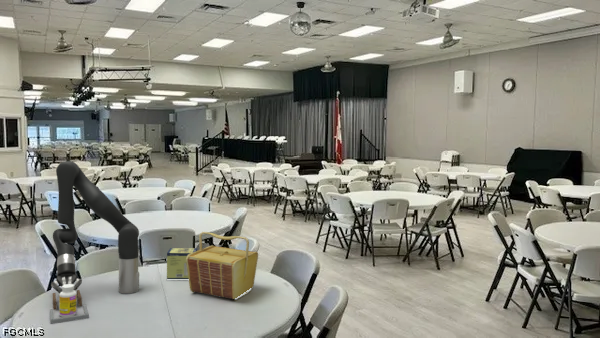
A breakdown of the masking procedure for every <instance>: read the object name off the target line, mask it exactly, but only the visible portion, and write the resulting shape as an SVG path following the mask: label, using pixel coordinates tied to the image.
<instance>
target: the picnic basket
mask: <svg viewBox="0 0 600 338" xmlns="http://www.w3.org/2000/svg"><path fill="white" fill-rule="evenodd" d="M203 235H211V237H213V238H216V239H218V240H219V239H220V240H225V241H226V240H227V241H230V240H235V239H242V240H245V242H246V245H245V246H246V247H245V250H244V249H235V248H229V247H222V246H215V245H209V246H206V247H204V248H203V241H202V237H203ZM198 242H199V249H197V251H196V252H193V253H190V254H189V255H188V256H187V257H186V265H187V272H188V279H189V281H188V285H189V290H190V292H191V293H194V292H195V293H198V294H199V293H200V294H203V293H204V295H208V296H214V295H215V297H219V296H220V297H221V298H224V297H225V299H230V298H231V300H233V299H235V298H237V297H238V296H240V295H241V294H243V293H244V292H246V291H247V290H249V289H250V288H252V287H253V288H254V286H255V285H254V284H255V279H256V273H257V265H258V261H259V260H258V259H259V253H258V252H257V251H250V250H249V248H250V241H249V239H248V238H247V237H245V236H238V235H235V236H234V235H233V236H223V235H220V234H217V233H214V232H213V233H212V232H209V231H202V232H200V233H199V235H198ZM253 288H252V289H253Z"/></svg>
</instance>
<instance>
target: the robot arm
mask: <svg viewBox="0 0 600 338" xmlns="http://www.w3.org/2000/svg"><path fill="white" fill-rule="evenodd" d="M55 172H56V179H57V180H56V181H57V186H58V187H57V188H58V189H57V190H58V205H57V223H58V224H61V225H64V226H65V225H66V226H68V227H69V228H57V229H54V231H53V232H52V240H53V242H54V245H55V247H56V248H55V249H56V251H57V258H56V259H57V260H56V271H57V274H56V278H55V280H54V281H51V283H50V284H51V285H50V286H51V288H53V290H55V291H56V292H57V293H58V294H59V295H60V293H61V292H62V291H63V290H62V286H63V285H66V284H73V285H74V290H75V291H76V292H77V290H78V288H79V287H80V286H81V284H82V283H83V279H81V278H78V276H77V275H76V272H77V271H76V259H75V258H76V257H75V248H74V246H73V245H71V244H74V243H75V242H77V240H78V231H77V227H76V224H75V201H74V200H75V199H74V188H75V189H76V191H77V192H78V193H79V194H80V196H81V198H82V200H83V201H84V203H85V204H86V205H87V206H88V208H89V209H90V210H91V211H92V212H93V213H94V214H95V215H97V216H98V217H100V218H101V219H102V220H104V221H105V222H107V223H108V224H110V225H111V226H112V227H113V228H114V230H115V231H116V232H117V233H118V236H117V242H118V243H117V250H118V252H117V253H118V292H119V293H120V294H124V295H125V294H134V293H136V292H137V293H138V292H140V272H139V237H140V236H139V235H140V231H139V230H140V229H138V227H137V226H136V225H135V224H134V223H133V222H131V221H130V220H129V219H128V218H127V217H126V216H125V215H123V214H122V212H121V211H120V210H119V209H118V207H117V206H116V205H115V204H114V202H112V201H111V199H110V198H109V197H108V196H107V195H106V194H105V193H104V192H103V191H102V190H101V189H100V188H98V186H97V185H95V184H94V183H93V182H92V181H91V180H90V179H89V178H88V176H86V173H84V171H82V169H81V168H80V166H79V165H78V164H77V163H76V162H74V161H71V160H67V161H62V162H61V163H58V165H57V166H56V169H55Z"/></svg>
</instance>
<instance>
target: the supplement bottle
mask: <svg viewBox="0 0 600 338" xmlns="http://www.w3.org/2000/svg"><path fill="white" fill-rule="evenodd" d="M74 286H75V284H66V285H63V286H62V287H61V289H62V290H63V291H62V292H61V293H60V294H59V297H58V299H59V300H58V301H59V303H58V304H59V312H58V313H59V316H60V318H62V317H69V316H76V314H77V306H78V304H77V303H78V301H77V290H76V291H75V290H74Z"/></svg>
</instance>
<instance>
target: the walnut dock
mask: <svg viewBox="0 0 600 338" xmlns="http://www.w3.org/2000/svg"><path fill="white" fill-rule="evenodd" d="M76 293H77V303H78V304H77V306H78V307H83V305H82V304H83V298H82V295H81V291H80V289H76ZM56 295H57V294H56V292H53V293H52V309H53V311H57V307H58V306H57V296H56Z"/></svg>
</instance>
